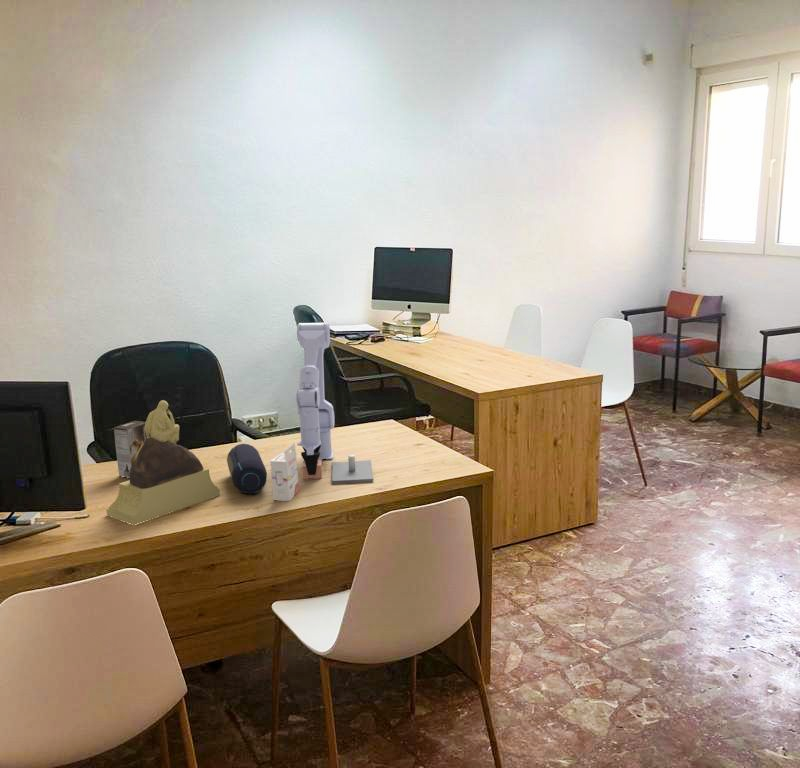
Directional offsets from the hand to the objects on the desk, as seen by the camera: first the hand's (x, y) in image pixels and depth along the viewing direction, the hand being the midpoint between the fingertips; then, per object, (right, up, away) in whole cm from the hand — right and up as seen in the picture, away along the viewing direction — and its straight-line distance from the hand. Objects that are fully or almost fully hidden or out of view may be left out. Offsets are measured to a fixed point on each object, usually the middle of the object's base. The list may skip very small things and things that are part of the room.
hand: (312, 471), depth 251 cm
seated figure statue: (-39, -8, -20) cm, 44 cm away
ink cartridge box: (-6, -6, -17) cm, 18 cm away
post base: (+12, -1, +1) cm, 12 cm away
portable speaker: (-19, -3, -5) cm, 20 cm away
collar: (0, -1, 0) cm, 1 cm away
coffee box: (-56, -2, +8) cm, 56 cm away
